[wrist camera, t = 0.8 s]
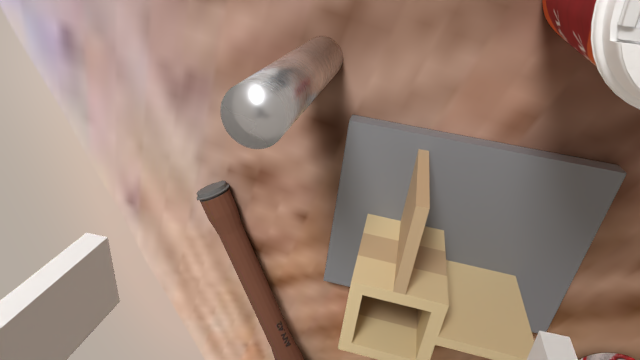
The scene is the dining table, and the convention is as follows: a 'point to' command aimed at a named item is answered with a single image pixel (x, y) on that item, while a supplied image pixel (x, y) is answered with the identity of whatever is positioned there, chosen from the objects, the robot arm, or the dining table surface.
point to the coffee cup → (603, 39)
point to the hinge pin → (279, 93)
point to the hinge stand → (457, 239)
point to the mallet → (248, 268)
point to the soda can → (607, 357)
